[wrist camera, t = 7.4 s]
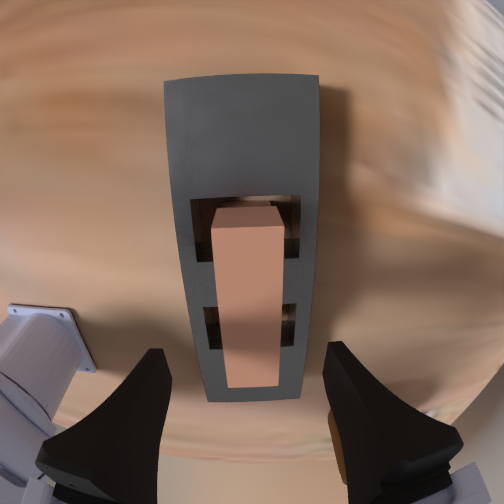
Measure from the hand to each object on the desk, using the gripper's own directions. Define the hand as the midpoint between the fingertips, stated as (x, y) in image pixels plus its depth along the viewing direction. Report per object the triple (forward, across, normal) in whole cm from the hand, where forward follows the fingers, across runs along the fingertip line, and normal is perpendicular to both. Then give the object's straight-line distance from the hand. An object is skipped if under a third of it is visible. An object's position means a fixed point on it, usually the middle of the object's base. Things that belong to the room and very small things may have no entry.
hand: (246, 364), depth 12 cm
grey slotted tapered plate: (+9, 0, 0) cm, 9 cm away
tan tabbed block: (+9, 0, 0) cm, 9 cm away
